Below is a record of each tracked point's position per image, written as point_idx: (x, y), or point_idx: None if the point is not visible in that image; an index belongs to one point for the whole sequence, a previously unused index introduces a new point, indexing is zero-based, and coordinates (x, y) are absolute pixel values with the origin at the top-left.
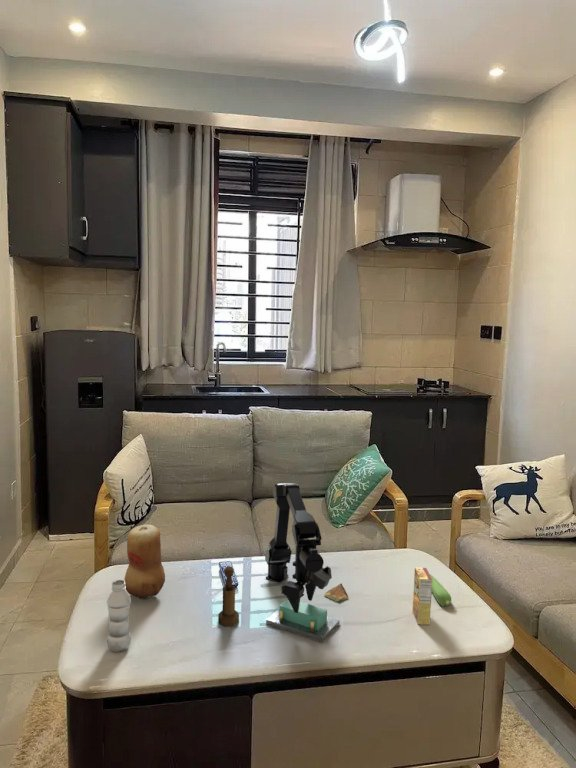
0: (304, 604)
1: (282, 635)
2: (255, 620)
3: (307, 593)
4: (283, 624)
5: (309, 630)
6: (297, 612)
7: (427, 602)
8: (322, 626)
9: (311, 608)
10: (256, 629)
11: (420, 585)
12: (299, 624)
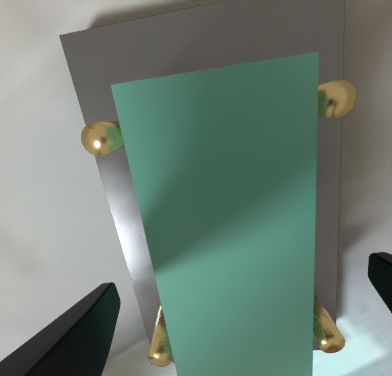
0: (183, 290)
1: (374, 225)
2: (322, 367)
3: (97, 371)
4: (332, 269)
5: None
6: (388, 254)
7: None
8: None
9: (196, 216)
10: (385, 330)
11: None
12: None
